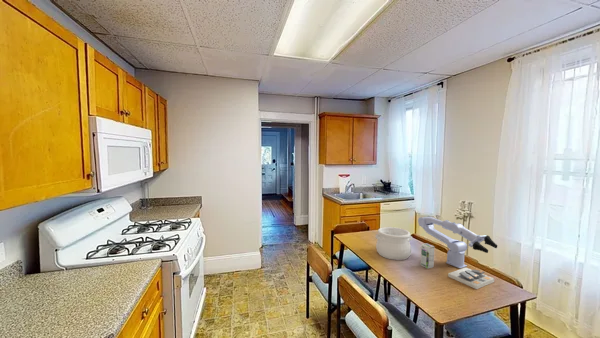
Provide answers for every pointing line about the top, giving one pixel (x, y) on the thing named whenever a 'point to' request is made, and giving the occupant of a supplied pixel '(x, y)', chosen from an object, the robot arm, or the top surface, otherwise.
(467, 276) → the rocker
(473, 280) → the switch panel
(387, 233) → the pot
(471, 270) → the rocker
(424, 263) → the syrup box
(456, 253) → the robot arm
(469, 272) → the rocker
